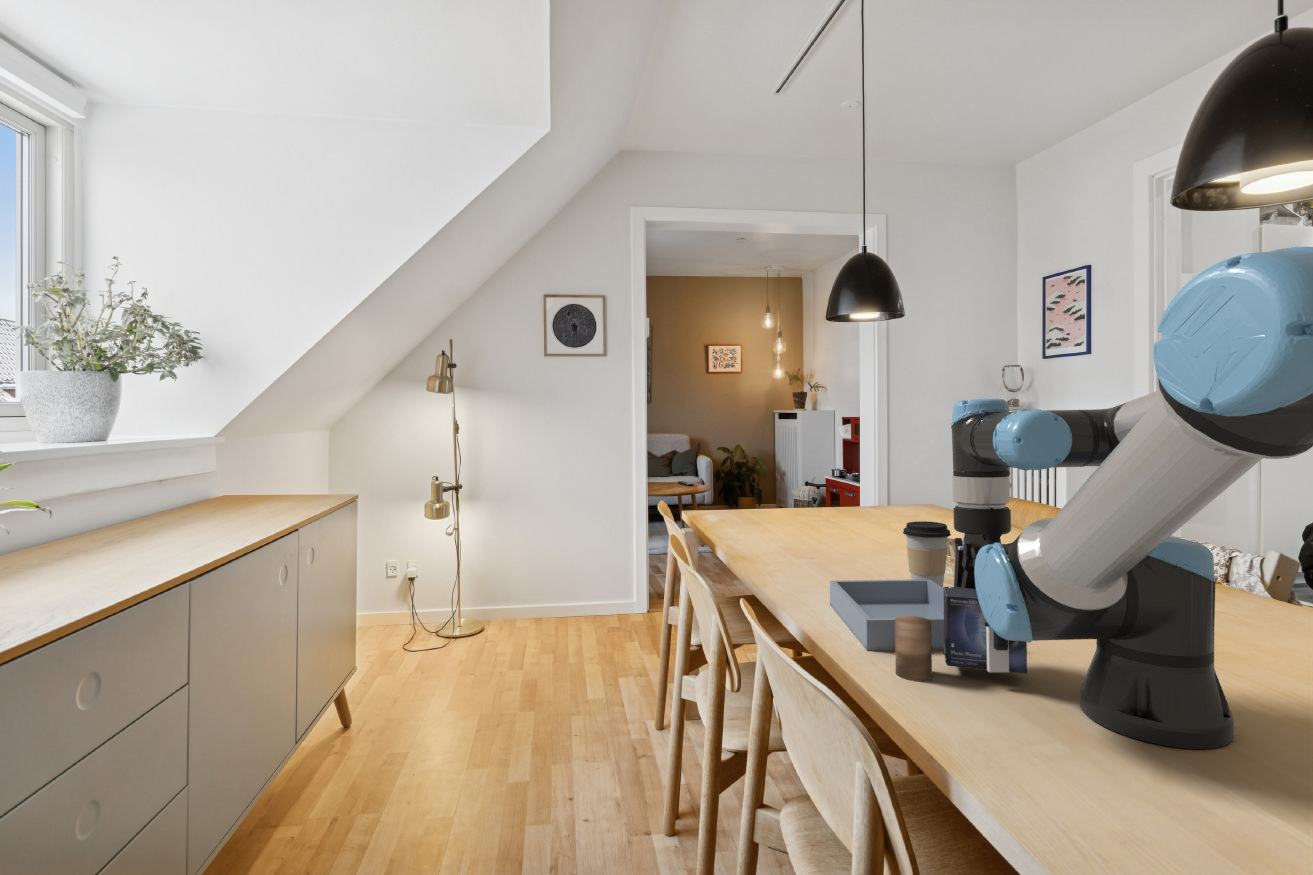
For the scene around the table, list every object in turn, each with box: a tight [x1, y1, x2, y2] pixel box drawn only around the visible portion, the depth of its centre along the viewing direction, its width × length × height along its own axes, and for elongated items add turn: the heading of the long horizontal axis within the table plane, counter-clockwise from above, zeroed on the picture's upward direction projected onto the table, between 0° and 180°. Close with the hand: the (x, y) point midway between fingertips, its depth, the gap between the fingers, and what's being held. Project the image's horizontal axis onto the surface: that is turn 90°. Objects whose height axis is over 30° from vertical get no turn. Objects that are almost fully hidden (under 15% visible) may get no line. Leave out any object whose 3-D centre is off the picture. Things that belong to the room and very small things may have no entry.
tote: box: [829, 579, 944, 652], centre depth 120 cm, size 26×20×5 cm
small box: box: [942, 586, 1028, 675], centre depth 97 cm, size 11×6×10 cm, turn 70°
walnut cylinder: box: [894, 616, 933, 682], centre depth 97 cm, size 5×5×8 cm
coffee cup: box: [902, 520, 952, 587], centre depth 140 cm, size 9×9×15 cm
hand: (984, 660), depth 97 cm, fingers closed on small box, 8 cm apart
